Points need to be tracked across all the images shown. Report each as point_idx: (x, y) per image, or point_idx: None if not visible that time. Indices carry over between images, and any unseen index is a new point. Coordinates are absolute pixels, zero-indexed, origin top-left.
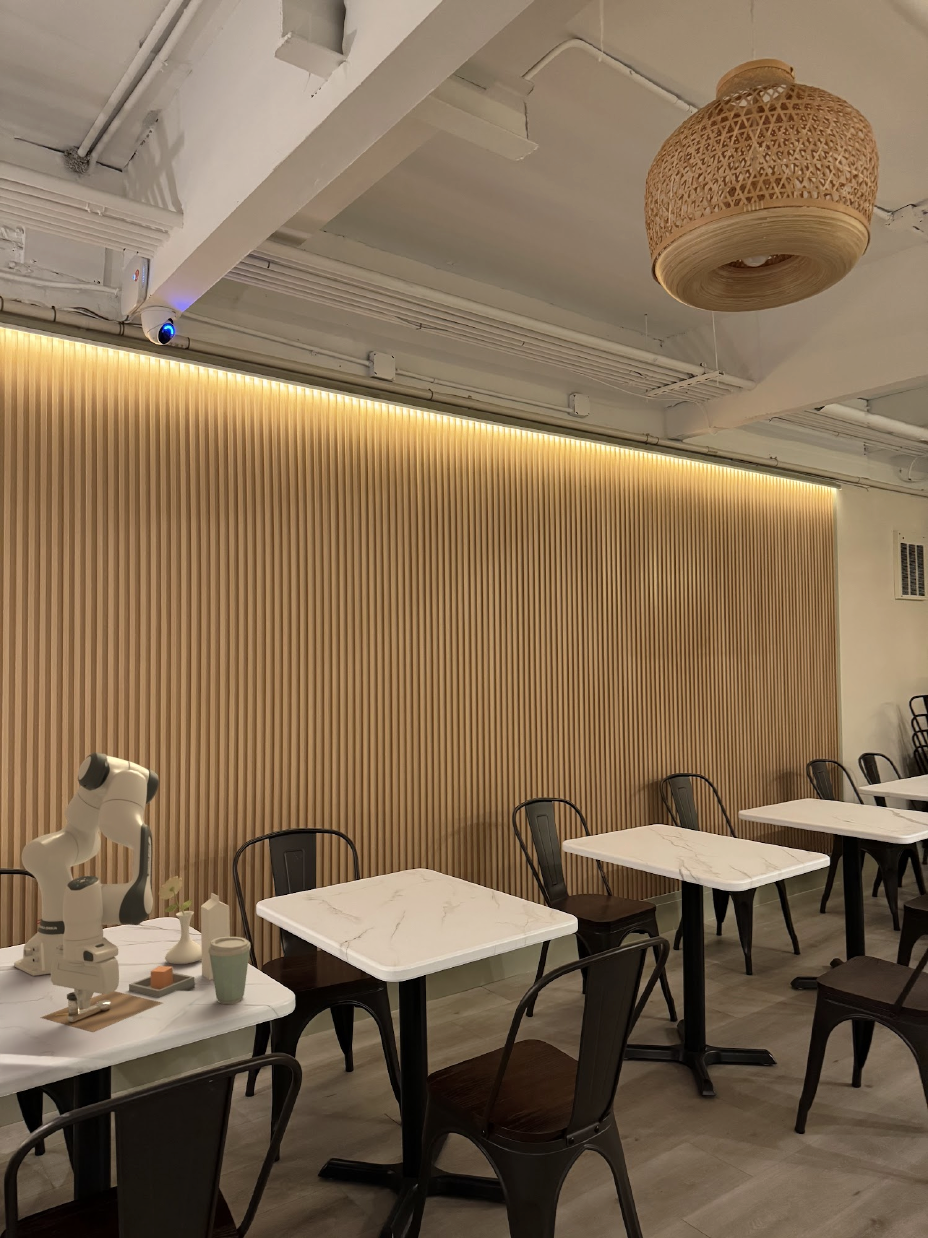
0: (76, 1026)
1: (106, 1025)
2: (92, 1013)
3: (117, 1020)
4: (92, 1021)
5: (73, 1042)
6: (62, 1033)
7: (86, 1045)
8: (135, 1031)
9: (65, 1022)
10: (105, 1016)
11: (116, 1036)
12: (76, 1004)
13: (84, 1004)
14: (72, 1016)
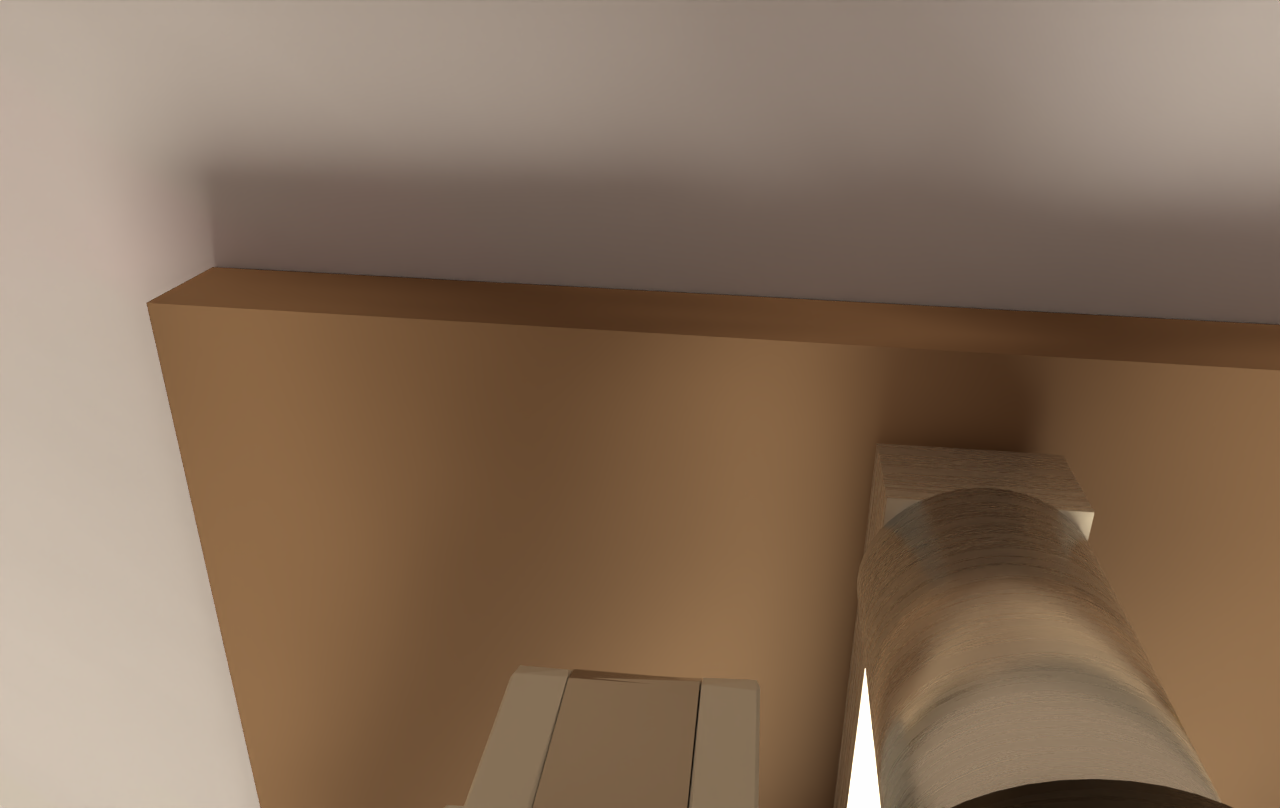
0: (674, 363)
1: (238, 574)
2: (834, 801)
3: (291, 748)
4: (611, 616)
5: (365, 15)
6: (953, 215)
7: (46, 34)
8: (13, 654)
9: (1091, 419)
10: None
11: (39, 467)
12: (881, 758)
13: (489, 757)
14: (912, 511)
